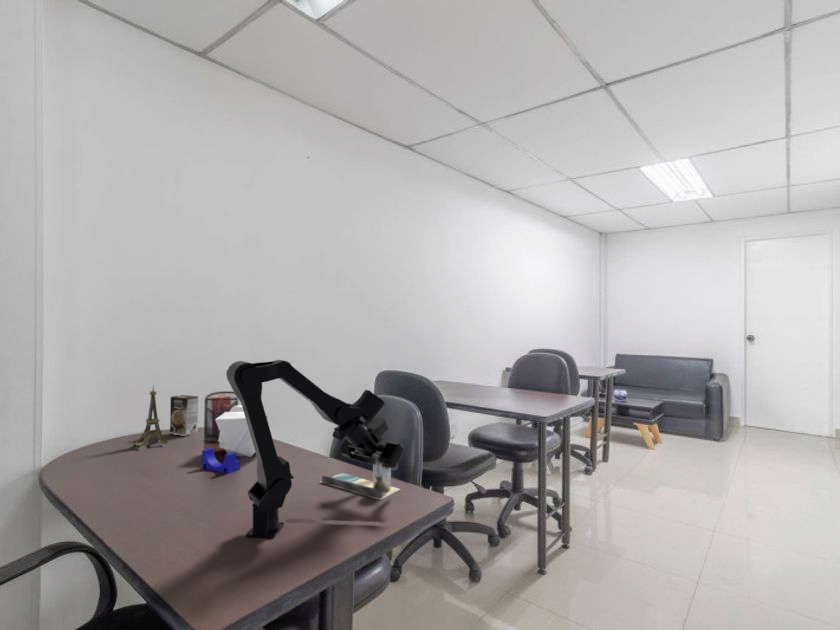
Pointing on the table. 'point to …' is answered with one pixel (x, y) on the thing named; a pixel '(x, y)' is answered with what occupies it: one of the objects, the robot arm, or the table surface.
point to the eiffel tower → (150, 421)
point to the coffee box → (184, 414)
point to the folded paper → (235, 432)
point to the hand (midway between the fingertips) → (384, 465)
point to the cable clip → (212, 463)
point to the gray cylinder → (381, 475)
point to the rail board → (356, 485)
